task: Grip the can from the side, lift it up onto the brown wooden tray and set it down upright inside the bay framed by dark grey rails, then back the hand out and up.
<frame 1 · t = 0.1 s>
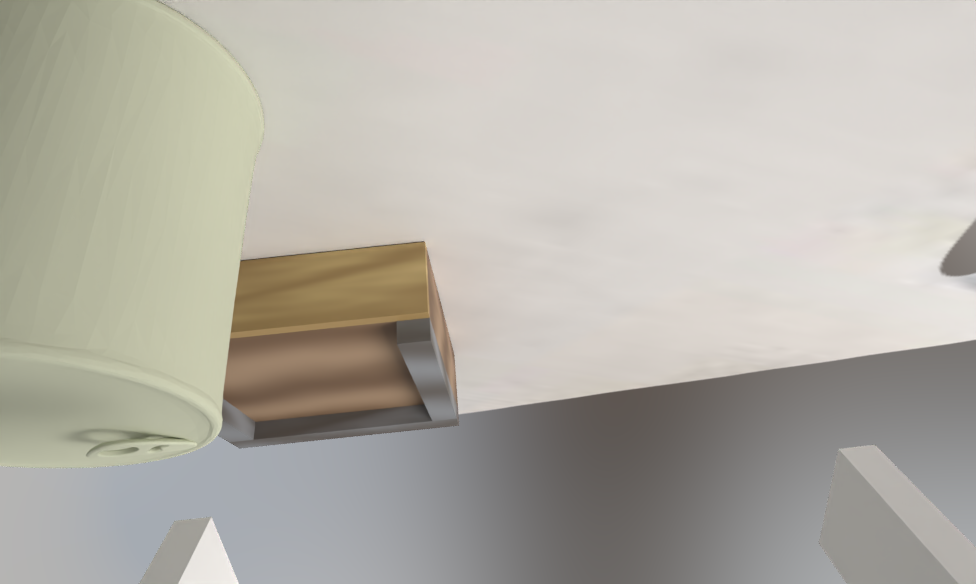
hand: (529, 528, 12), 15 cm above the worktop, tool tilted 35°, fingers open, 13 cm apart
can: (124, 95, 20), on the worktop
brown wooden tray: (322, 323, 36), on the worktop
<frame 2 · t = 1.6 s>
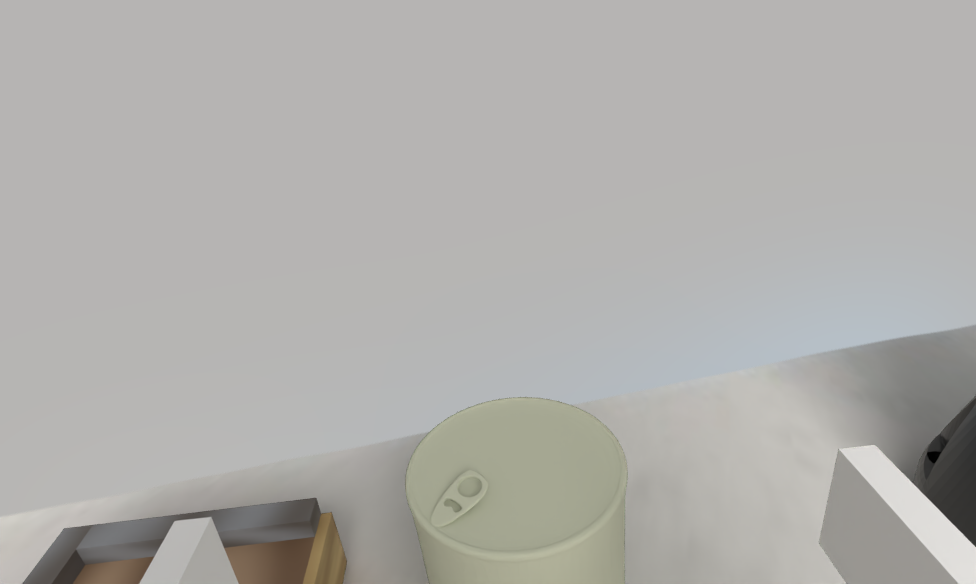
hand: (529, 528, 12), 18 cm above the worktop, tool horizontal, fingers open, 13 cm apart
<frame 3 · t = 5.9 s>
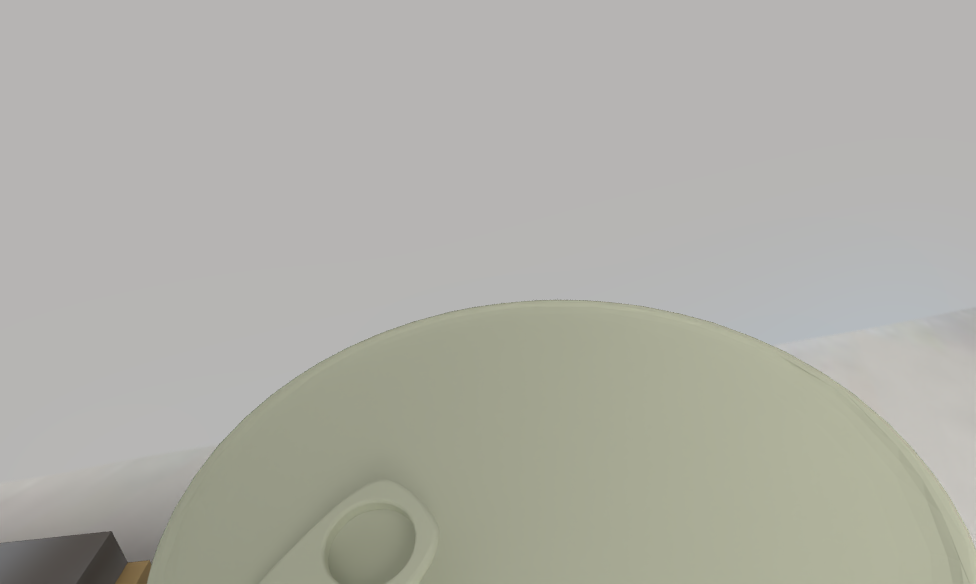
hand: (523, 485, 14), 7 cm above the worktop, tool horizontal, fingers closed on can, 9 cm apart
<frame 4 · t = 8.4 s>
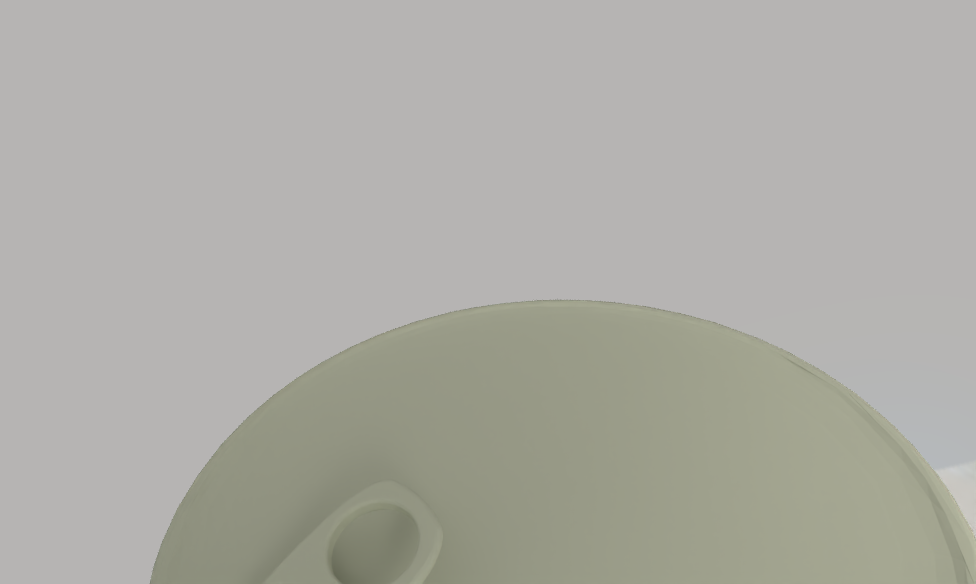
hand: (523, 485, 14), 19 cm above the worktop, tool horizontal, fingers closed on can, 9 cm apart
when the fingers open (12 cm above the worktop, at t = 11.0 s): can drops 1 cm, resting on brown wooden tray.
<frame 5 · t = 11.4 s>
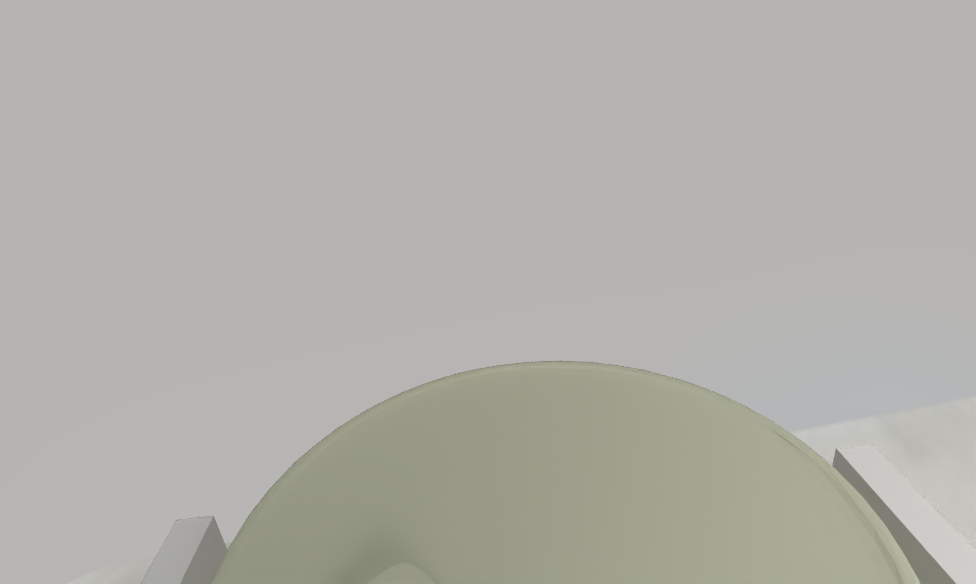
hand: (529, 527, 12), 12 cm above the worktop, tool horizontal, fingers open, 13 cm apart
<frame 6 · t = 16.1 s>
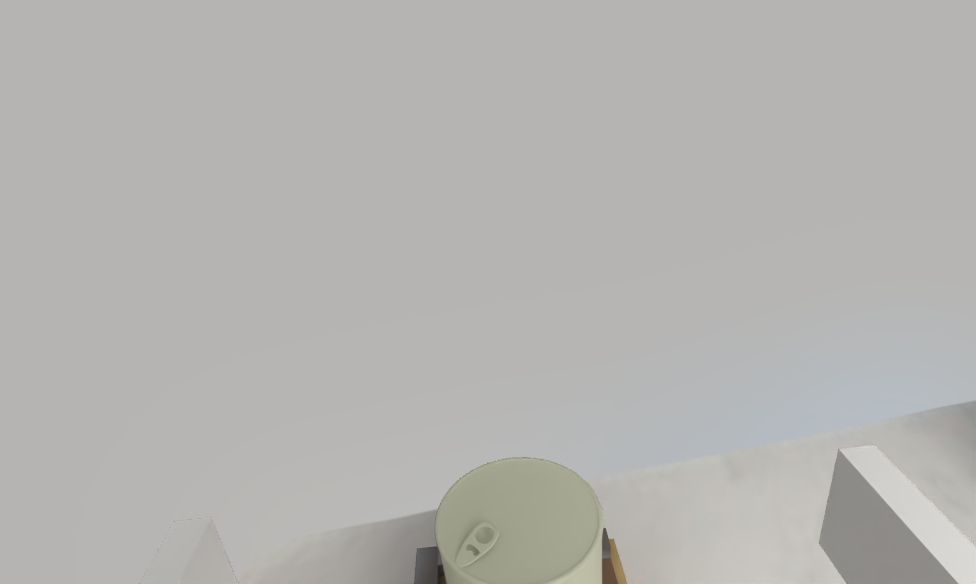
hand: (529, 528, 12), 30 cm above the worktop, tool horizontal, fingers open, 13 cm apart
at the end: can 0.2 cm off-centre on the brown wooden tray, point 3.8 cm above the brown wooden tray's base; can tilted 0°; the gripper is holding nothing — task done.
